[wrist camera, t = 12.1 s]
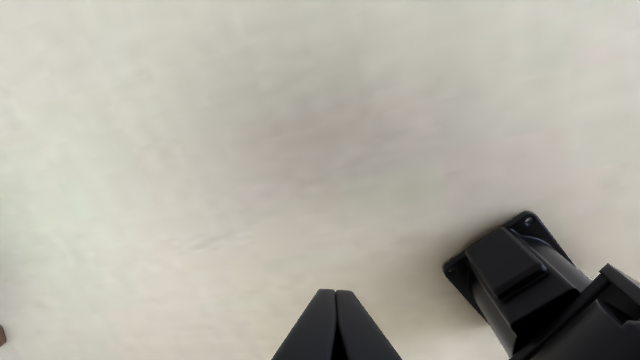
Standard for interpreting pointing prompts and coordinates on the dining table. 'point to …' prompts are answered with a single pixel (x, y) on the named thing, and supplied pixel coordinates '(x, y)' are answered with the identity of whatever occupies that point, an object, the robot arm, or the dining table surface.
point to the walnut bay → (2, 337)
